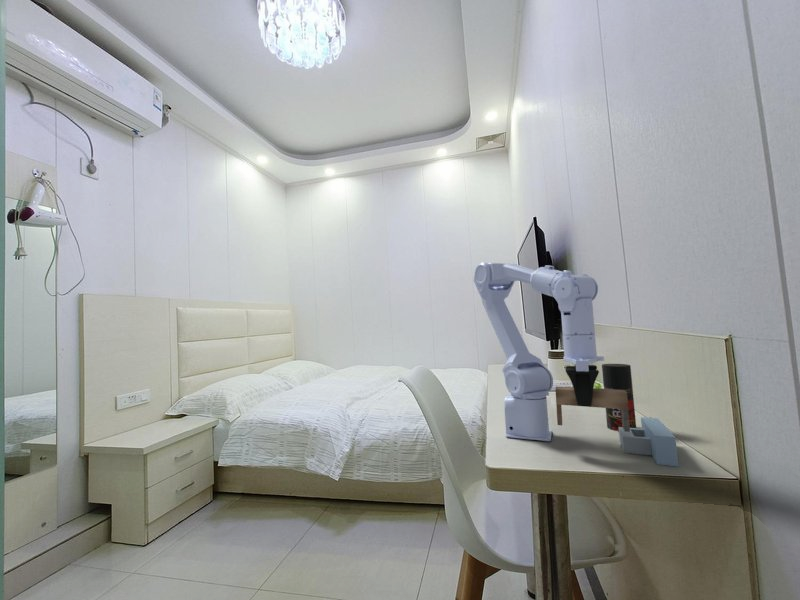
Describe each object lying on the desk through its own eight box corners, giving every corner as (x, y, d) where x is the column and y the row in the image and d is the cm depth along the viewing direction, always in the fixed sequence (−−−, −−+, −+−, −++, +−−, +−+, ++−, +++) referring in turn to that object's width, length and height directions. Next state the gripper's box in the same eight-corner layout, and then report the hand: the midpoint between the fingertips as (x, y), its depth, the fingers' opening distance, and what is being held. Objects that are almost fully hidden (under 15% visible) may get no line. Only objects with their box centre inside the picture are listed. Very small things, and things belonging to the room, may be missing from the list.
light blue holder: (628, 460, 63) (625, 433, 63) (618, 439, 74) (616, 415, 75) (678, 466, 60) (675, 437, 60) (660, 442, 71) (658, 418, 72)
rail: (557, 425, 67) (555, 389, 68) (558, 421, 70) (555, 386, 71) (629, 431, 62) (627, 392, 63) (627, 427, 65) (624, 389, 65)
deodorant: (608, 430, 81) (602, 366, 82) (606, 423, 86) (601, 363, 87) (638, 433, 78) (632, 366, 79) (634, 426, 83) (628, 363, 84)
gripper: (605, 335, 60) (612, 414, 59) (598, 332, 73) (604, 397, 72) (561, 336, 63) (566, 411, 62) (562, 333, 76) (566, 395, 75)
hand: (584, 404), depth 67 cm, fingers closed on rail, 3 cm apart
